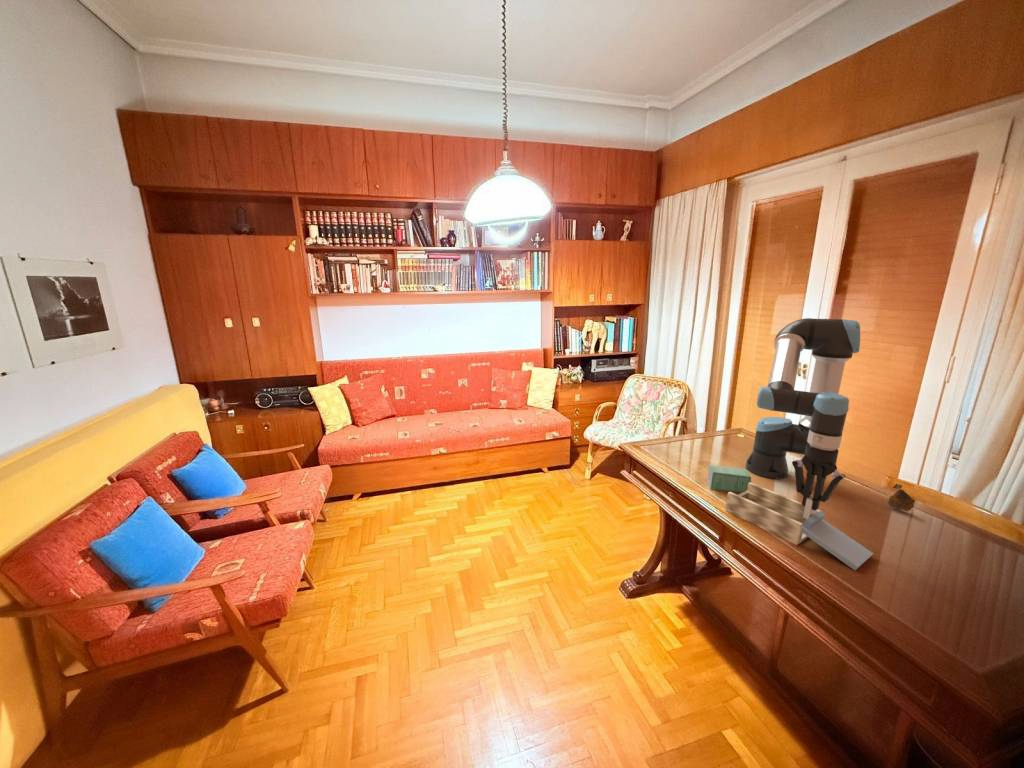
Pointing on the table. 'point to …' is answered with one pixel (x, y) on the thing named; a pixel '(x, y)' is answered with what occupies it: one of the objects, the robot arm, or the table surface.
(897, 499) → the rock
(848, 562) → the cover plate
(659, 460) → the table surface
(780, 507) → the case
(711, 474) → the box
